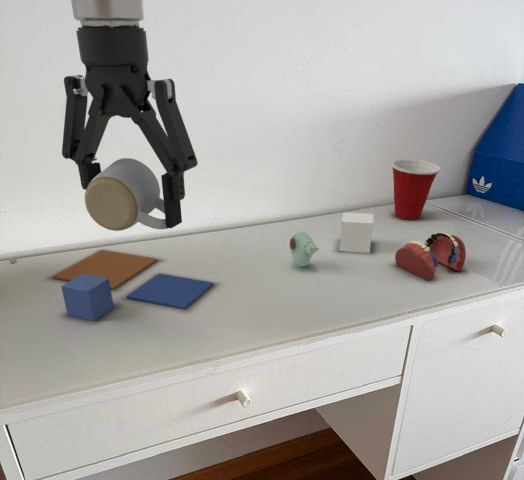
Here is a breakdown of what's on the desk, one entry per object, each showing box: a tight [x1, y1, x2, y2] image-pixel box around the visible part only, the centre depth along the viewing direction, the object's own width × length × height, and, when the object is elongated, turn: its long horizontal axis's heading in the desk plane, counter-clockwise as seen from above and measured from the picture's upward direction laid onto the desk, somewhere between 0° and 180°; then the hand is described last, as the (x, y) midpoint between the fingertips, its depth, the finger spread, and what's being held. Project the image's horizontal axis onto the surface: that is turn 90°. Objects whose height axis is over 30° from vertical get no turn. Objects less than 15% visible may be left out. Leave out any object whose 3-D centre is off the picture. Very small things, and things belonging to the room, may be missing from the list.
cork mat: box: [52, 249, 158, 290], centre depth 95 cm, size 13×14×1 cm
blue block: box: [60, 274, 115, 322], centre depth 80 cm, size 5×5×5 cm
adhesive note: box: [338, 212, 374, 254], centre depth 103 cm, size 6×6×6 cm
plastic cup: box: [390, 158, 441, 221], centre depth 118 cm, size 11×11×12 cm
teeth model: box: [394, 232, 467, 281], centre depth 93 cm, size 8×6×12 cm
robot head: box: [289, 230, 320, 268], centre depth 94 cm, size 8×4×7 cm, turn 25°
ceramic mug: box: [84, 157, 169, 232], centre depth 67 cm, size 11×8×8 cm
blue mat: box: [126, 273, 215, 310], centre depth 87 cm, size 11×10×1 cm
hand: (135, 219), depth 69 cm, fingers closed on ceramic mug, 11 cm apart
